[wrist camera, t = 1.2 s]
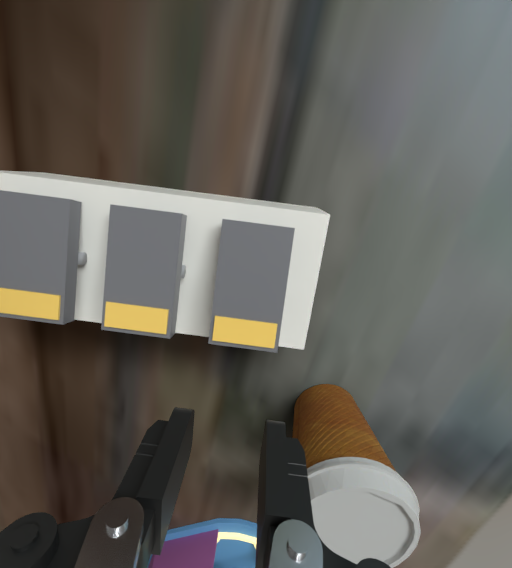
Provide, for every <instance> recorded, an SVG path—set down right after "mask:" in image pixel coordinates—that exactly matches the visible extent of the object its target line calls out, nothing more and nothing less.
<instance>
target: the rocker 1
mask: <svg viewBox="0 0 512 568" xmlns="http://www.w3.org/2000/svg"><path fill="white" fill-rule="evenodd" d="M81 203H82V202H79V201H75V200H72V199H65V198H57V197H50V196H42V195H34V194H26V193H19V192H11V191H3V190H0V317H8V318H16V319H23V320H31V321H39V322H46V323H54V324H62V325H63V324H66V323H69V322H71V321H74V316H75V300H76V284H77V268H78V252H79V236H80V219H81Z"/></svg>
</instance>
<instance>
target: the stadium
mask: <svg viewBox="0 0 512 568" xmlns="http://www.w3.org/2000/svg"><path fill="white" fill-rule="evenodd" d="M256 539H257V523H253V522H250V521H246V520H243V519H229V518H217V519H213V520H209V521H204V522H200V523H196V524H192V525H187V526H183V527H179V528H175V529H170V530H168V531H167V534H166V537H165V541H164V544H163V547H162V551H161V554H160V555H154V554H151V556H150V559H149V563H148V566H147V568H255V563H256Z"/></svg>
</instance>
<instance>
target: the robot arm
mask: <svg viewBox="0 0 512 568" xmlns="http://www.w3.org/2000/svg"><path fill="white" fill-rule="evenodd" d="M193 424H194V410H192V409H184V408H177V407H175V408H174V410H173V412H172V415H171V417H170V419H169V421H162V420H158V421H157V422H155V423H154V424H153V425H152V426H151V427H150V428H149V429H148V430H147V432H146V434H145V436H144V438H143V440H142V442H141V445H140V446H139V448H138V450H137V452H136V455H135V456H134V458H133V460H132V462H131V464H130V466H129V468H128V470H127V472H126V474H125V476H124V478H123V480H122V482H121V484H120V486H119V488H118V490H117V492H116V494H115V496H114V497H113V499H112V500H111V501H110V502H108V503H106V504H105V505H103V506H102V507H101V508H100V509H99V510H98V511H97V513H96V514H95V515H93V516H91V517H88V518H86V519H82V520H77V521H72V522H68V523H63V524H58V525H57V523H56V520H55V519H54V517H53V516H51V515H50V514H47V513H42V512H40V513H32V514H29V515H26V516H24V517H22V518H20V519H18V520H16V521H15V522H13V523H12V524H10V525H9V526H8V527H7V528H5V529H4V530H3V531H1V532H0V568H147V566H148V563H149V559H150V556H151V554H154V555H160V554H161V551H162V547H163V544H164V541H165V537H166V534H167V531H168V527H169V524H170V520H171V517H172V514H173V510H174V507H175V504H176V500H177V497H178V493H179V490H180V487H181V483H182V480H183V477H184V473H185V470H186V467H187V463H188V460H189V456H190V452H191V446H192V438H193ZM255 568H391V567H390V566H389V565H387V564H386V563H384V562H382V561H380V560H378V559H374V558H366V559H363V560H361V561H360V562H359V563H358V564H355V563H353V562H351V561H349V560H347V559H345V558H343V557H341V556H339V555H338V554H336V553H334V552H333V551H332V550H330V549H329V548H328V547H327V546H326V545H325V544H324V543H323V542H322V540H321V539H320V537H319V536H318V534H317V531H316V529H315V526H314V521H313V514H312V506H311V498H310V490H309V482H308V474H307V467H306V458H305V451H304V449H303V447H302V445H301V444H300V442H299V440H298V439H297V438H289V437H286V426H285V422H281V421H273V420H266V423H265V429H264V435H263V441H262V447H261V454H260V465H259V489H258V514H257V539H256V563H255Z"/></svg>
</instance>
